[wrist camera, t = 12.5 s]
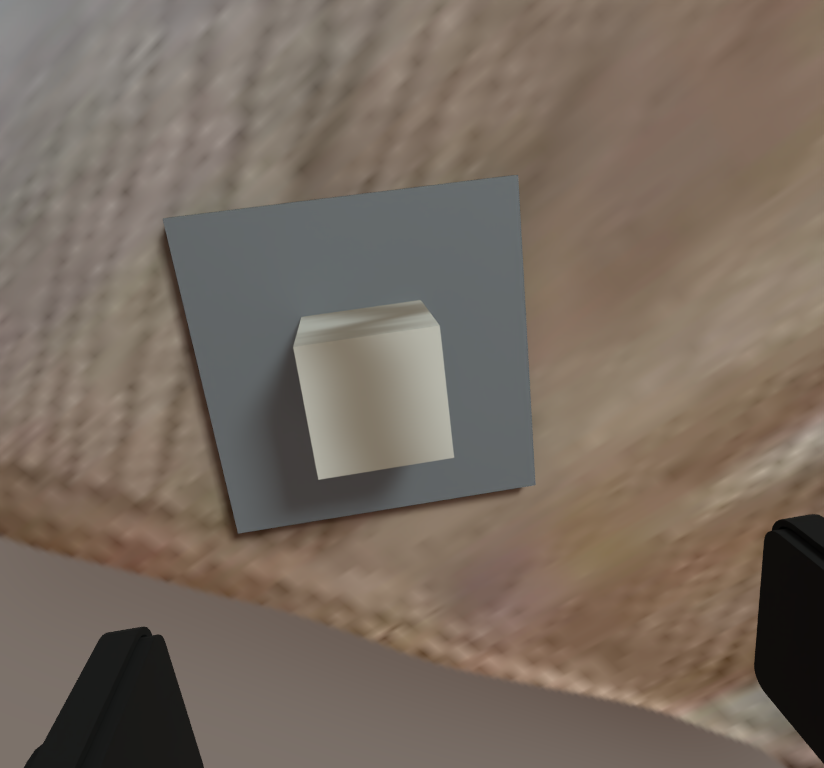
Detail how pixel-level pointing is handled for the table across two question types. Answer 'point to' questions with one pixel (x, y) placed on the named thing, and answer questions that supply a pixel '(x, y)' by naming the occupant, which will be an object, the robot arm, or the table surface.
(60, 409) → the table surface
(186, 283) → the slate board
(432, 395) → the cream cube
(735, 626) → the table surface
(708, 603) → the table surface
